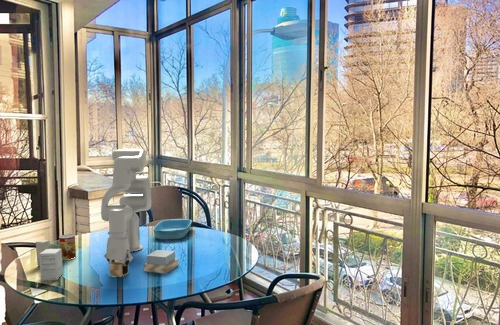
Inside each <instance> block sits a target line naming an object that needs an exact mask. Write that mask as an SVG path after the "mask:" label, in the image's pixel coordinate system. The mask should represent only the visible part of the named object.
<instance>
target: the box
mask: <svg viewBox="0 0 500 325" xmlns="http://www.w3.org/2000/svg"><path fill="white" fill-rule="evenodd" d="M50 241H51V240H50V239H41V240H37V241H35V251H36V263H37V265H38V266H40V255H39V254H40V253H41V252H43V251H44V250H46V249H51V242H50ZM38 266H37V267H38Z"/></svg>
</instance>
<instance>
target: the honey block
mask: <svg viewBox="0 0 500 325" xmlns="http://www.w3.org/2000/svg"><path fill="white" fill-rule="evenodd" d="M125 262H126V261H125ZM108 265H109V267H108V268H109V277H110V276H116V277H115V278H117V277H122V276H123V277H125V276H127V275H129V274H128V273H129V270H130V269H129V268H128V273H126V274H127V275H126V274H123V269H122V267H123V266H124V265H123V263H122V261H119V260H115V261H114V262H112V263H110V264H109V263H108ZM124 275H125V276H124ZM123 277H122V278H123Z"/></svg>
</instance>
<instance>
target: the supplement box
mask: <svg viewBox="0 0 500 325" xmlns="http://www.w3.org/2000/svg"><path fill="white" fill-rule="evenodd" d="M39 255H40V267H39V269H40V271H39V272H40V273H39V274H40V281H41V282H42V281H57V280H59V279H60V278H61V277H62V276H63V275H64V270H63V260H62V249H59V248H50V249H46V250H44V251H43V252H41V253H40V254H39ZM62 274H63V275H62ZM61 275H62V276H61ZM59 277H60V278H59Z"/></svg>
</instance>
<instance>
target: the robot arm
mask: <svg viewBox="0 0 500 325" xmlns="http://www.w3.org/2000/svg"><path fill="white" fill-rule="evenodd" d="M111 156H112V160H113V170H112V171H113V174H112V185H111V186H110V187H109V188H108V189H106V191H105V193H104V194H103V197H102V199H101V207H100V217H101V219H102V221H104V222H108V231H107V235H109V237H108V238H107V241H106V252H105V254H103V257H104V258H105V259H106V261H107V262H108V265H109V264H110V263H112V262H114V261H117V260H119V261H122V263H123V265H124V266H123V267H122V269H123V274H126V273H128V269H129V265H130V263H131V262H132V261H133V259H134V256H133V255H132V254H131V252H132V253H134V252H137V251H138V250H139V251H141V250H143V248H144V246H143V245H142V244H141V238H140V218H139V217H140V216H138V214H137V213H136V212H138V211H139V212H141V211H149V210H151V208H152V190H151V187H152V186H151V180H150V177H148V176H147V175H137V173H142V172H143V171H144V168H145V165H146V161H147V154H146V151H145V150H144V149H142V148H129V149H128V148H123V149H121V148H120V149H115V150H113V151H112V153H111ZM121 193H125V194H123V195H122V196H120V198H119V204H117V205H116V204H113V205H109V203H110V200H111V199H112V198H113V197H114V196H116V195H118V194H121ZM133 251H134V252H133ZM125 261H126V262H125Z"/></svg>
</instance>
